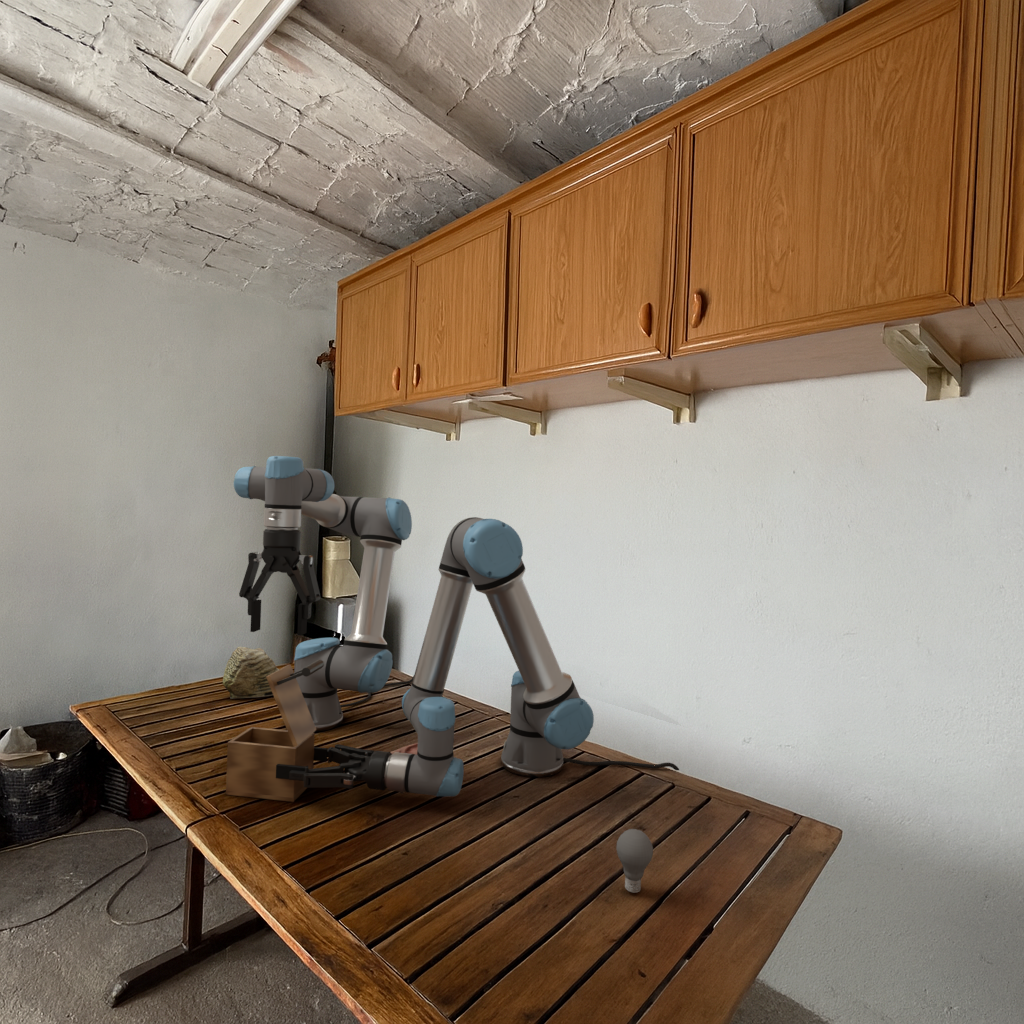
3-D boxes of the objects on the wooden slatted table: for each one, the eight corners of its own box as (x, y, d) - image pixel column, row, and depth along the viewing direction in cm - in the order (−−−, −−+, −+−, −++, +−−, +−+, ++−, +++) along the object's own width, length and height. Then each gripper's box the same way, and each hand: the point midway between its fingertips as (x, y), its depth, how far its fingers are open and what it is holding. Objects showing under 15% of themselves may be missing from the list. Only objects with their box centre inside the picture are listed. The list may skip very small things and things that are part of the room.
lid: (265, 676, 131) (303, 661, 130) (286, 665, 141) (322, 651, 140) (293, 747, 131) (331, 732, 130) (313, 731, 140) (348, 717, 139)
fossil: (218, 695, 195) (220, 647, 195) (278, 685, 208) (279, 640, 207) (228, 703, 189) (230, 653, 188) (289, 692, 201) (290, 645, 201)
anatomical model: (361, 752, 147) (381, 734, 159) (361, 769, 148) (381, 750, 159) (415, 759, 145) (432, 741, 156) (415, 776, 145) (431, 757, 156)
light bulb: (610, 879, 108) (613, 822, 108) (644, 879, 109) (647, 822, 109) (619, 902, 102) (622, 840, 102) (655, 901, 103) (658, 840, 103)
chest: (225, 794, 133) (227, 742, 133) (249, 775, 142) (251, 726, 142) (293, 801, 131) (295, 748, 131) (312, 782, 140) (314, 732, 140)
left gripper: (223, 526, 133) (219, 632, 133) (325, 532, 130) (321, 639, 131) (242, 525, 140) (238, 625, 141) (339, 530, 138) (335, 632, 138)
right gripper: (370, 814, 122) (261, 802, 125) (403, 767, 144) (309, 758, 147) (372, 775, 122) (262, 764, 125) (405, 734, 144) (311, 726, 147)
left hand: (278, 632), depth 136 cm, fingers open, 10 cm apart
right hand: (288, 761), depth 136 cm, fingers closed on chest, 9 cm apart
